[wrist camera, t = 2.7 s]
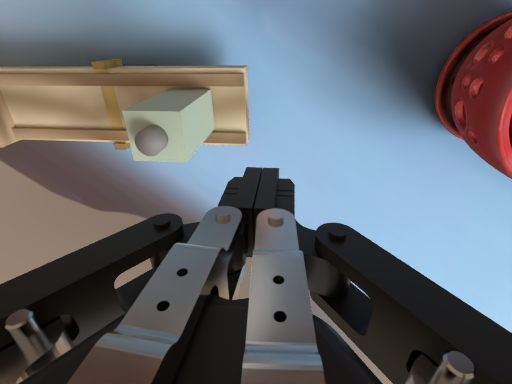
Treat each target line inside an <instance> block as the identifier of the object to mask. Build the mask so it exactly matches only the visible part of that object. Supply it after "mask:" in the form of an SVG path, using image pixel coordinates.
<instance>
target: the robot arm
mask: <svg viewBox="0 0 512 384" xmlns="http://www.w3.org/2000/svg"><path fill="white" fill-rule="evenodd" d="M247 257H252V268H251V282H250V293H249V298H246V299H238V300H236V298H237V295H238V292H239V288H240V285H241V282H242V278H243V275H244V271H245V269H244V265H245V262H246V258H247ZM149 258H150V260H151V264H152V268H153V269H151V270H149V271H147V272H146V273H144V274H142V275H140V276H139V277H137V278H135V279H133V280H132V281H130V282H128V283H126V284H124V285H123V286H121V287H119V288H117V289H115V288H114V282H115V280H116V278H117V277H118V276H119V275H120V274H121V273H123V272H125V271H126V270H128V269H130V268H132V267H134V266H136V265H138V264H139V263H141V262H143V261H145V260H147V259H149ZM351 281H352V282H353V283H354V284H355V285H357V286H358V287H359V288H360V289H361V290H363V291H364V292H365V293H366V294H367V295H368V296H369V298H368V297H367V296H366V295H365V294H364V293H362V292H361V291H360V290H359V289H358V288H357V287H355V286H354V285H353V284H352V283H351ZM309 291H310V296H311V298H312V300H313V301H314V302H315V303H316V304H317V305H318V306H319V307H320V308H321V309H322V310H323V311H324V312H325V313H326V314H327V315H328V316H329V317H330V318H331V320H332V321H333V322H334V323H335V324H336V325H337V326H338V327H339V328H340V329H341V330H342V331H343V332H344V333H345V334H346V335H347V336H348V337H349V338H350V339H351V340H352V341H353V342H354V343H355V344H356V346H357V347H358V348H359V349H360V350H361V351H362V352H363V353H364V354H365V355H366V356H367V357H368V358H369V359H370V360H371V361H372V362H373V363H374V364H375V365H376V366H377V367H378V368H379V369H380V370H381V371H382V373H384V375H386V377H387V378H388V379H389V380H390V381H391V382H392V383H393V384H512V333H511V332H509V331H508V330H506V329H505V328H503V327H502V326H500V325H498V324H497V323H495V322H494V321H492V320H491V319H489V318H488V317H486V316H485V315H483V314H482V313H480V312H479V311H477V310H476V309H474V308H473V307H471V306H470V305H468V304H467V303H465V302H463V301H462V300H460V299H459V298H457V297H456V296H454V295H453V294H451V293H450V292H448V291H447V290H445V289H444V288H442V287H441V286H439V285H438V284H436V283H435V282H433V281H431V280H430V279H428V278H427V277H425V276H424V275H422V274H421V273H419V272H418V271H416V270H415V269H413V268H412V267H410V266H409V265H407V264H406V263H404V262H403V261H401V260H399V259H398V258H396V257H395V256H393V255H392V254H390V253H389V252H387V251H386V250H384V249H383V248H381V247H380V246H378V245H377V244H375V243H374V242H372V241H371V240H369V239H367V238H366V237H364V236H363V235H361V234H360V233H358V232H357V231H355V230H354V229H352V228H351V227H349V226H347V225H344V224H340V223H326V224H323V225H321V226H319V227H318V228H317V230H316V231H315V230H311V229H308V228H306V227H303V226H302V225H300V224H299V223H298V222H297V221H296V219H295V216H294V183H293V182H292V181H291V180H290V179H279V168H263V169H262V168H255V167H247V168H246V170H245V173H244V176H243V177H234V178H233V179H232V180H230V181H229V182H228V184H227V186H226V189H225V191H224V194H223V195H222V197H221V200H220V202H219V204H218V207H215V208H213V209H211V210H209V211H208V212H207V213H206V214H205V215H204V217H203V219H202V220H201V222H196V223H190V224H183V222H182V219H181V217H180V216H178V215H175V214H169V213H168V214H160V215H156V216H153V217H151V218H149V219H147V220H144V221H142V222H140V223H138V224H135V225H133V226H131V227H129V228H126V229H124V230H122V231H120V232H117V233H115V234H113V235H111V236H109V237H106V238H104V239H102V240H99V241H97V242H95V243H93V244H90V245H88V246H86V247H84V248H81V249H79V250H77V251H75V252H72V253H70V254H68V255H65V256H63V257H61V258H59V259H56V260H54V261H52V262H50V263H47V264H45V265H43V266H41V267H39V268H36V269H34V270H32V271H29V272H27V273H25V274H23V275H20V276H18V277H16V278H14V279H11V280H9V281H7V282H5V283H2V284H0V384H382V383H381V381H380V380H379V379H378V378H377V377H376V376H375V375H374V374H373V372H372V371H371V370H370V369H369V368H368V367H367V366H366V365H365V363H364V362H363V361H362V360H361V359H360V358H359V357H358V356H357V354H356V353H355V352H354V351H353V350H352V349H351V348H350V346H349V345H348V344H347V343H346V342H345V341H344V340H343V339H342V337H341V336H340V335H339V334H338V333H337V332H336V331H335V330H334V329H333V328H332V327H331V326H330V325H328V324H327V323H326V322H324V321H323V320H322V319H320V318H318V317H316V316H315V315H313V314H312V310H311V303H310V297H309Z"/></svg>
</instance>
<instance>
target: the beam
mask: <svg viewBox="0 0 512 384" xmlns="http://www.w3.org/2000/svg"><path fill="white" fill-rule="evenodd" d="M91 64H92V66H23V67H0V147H4V146H7V145H9V144H12V143H14V142H17V141H19V140H22V139H23V140H59V141H96V142H115V143H114V147H115V149H121V150H126V149H128V148H129V147H130V146H131V145H130V141H129V137H128V133H127V129H126V125H125V121H124V117H123V113H122V111H123V110H125V109H127V108H129V107H131V106H133V105H135V104H137V103H139V102H142V101H144V100H146V99H148V98H150V97H152V96H154V95H156V94H158V93H161V92H163V91H165V90H167V89H211V94H212V106H213V117H214V128H215V129H214V130H213V131H212V132H211V134H210V135H209V136H208V137H207V139H206V140H205V141H204V142H203V144H204V145H241V146H247V143H248V141H249V109H248V74H247V66H157V65H123V63H122V59H106V60H100V61H94V62H91Z"/></svg>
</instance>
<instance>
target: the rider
mask: <svg viewBox="0 0 512 384" xmlns="http://www.w3.org/2000/svg"><path fill="white" fill-rule="evenodd" d="M122 113H123V117H124V121H125V125H126V129H127V133H128V137H129V141H130V145H131V150H132V154H133V158H134V161H160V162H188V161H189V160H190V158H191V157H192V156H193V155H194V153H195V152H196V151H197V150H198V148H199V147H200V146H201V145H202V144H203V142H204V141H205V140H206V139H207V137H208V136H209V135H210V134H211V132H212V131H213V130H214V129H215V128H214V117H213V106H212V94H211V89H167V90H165V91H163V92H161V93H158V94H156V95H154V96H152V97H150V98H148V99H146V100H144V101H142V102H139V103H137V104H135V105H133V106H131V107H129V108H127V109H125V110H123V111H122Z"/></svg>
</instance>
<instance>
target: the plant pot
mask: <svg viewBox="0 0 512 384" xmlns="http://www.w3.org/2000/svg"><path fill="white" fill-rule="evenodd" d="M435 108H436V111H437V114H438V117H439V119H440V121H441V122H442V124H443V125H444V127H445V128H446V129H447V130H448V131H449V132H450V133H452V134H453V135H455V136H456V137H458V138H460V139H463V140H465V142H466V143H467V144H468V145H469V147H470V148H471V149H472V150H473V151H474V152H475V153H476V154H478V155H479V156H480V157H481V158H482V159H483V160H485V161H486V162H487V163H488V164H490V165H491V166H493V167H494V168H495V169H497V170H498V171H500V172H501V173H503V174H504V175H506V176H507V177H509V178H511V179H512V12H509V13H506V14H503V15H500V16H498V17H495V18H493V19H491V20H490V21H488V22H486V23H484V24H482V25H481V26H479V27H478V28H477V29H475V30H474V31H473V32H471V33H470V34H469V35H468V36H467V37H466V38H464V39H463V40H462V41H461V42H460V44H459V45H458V46H457V47H456V48H455V49H454V51H453V52H452V53H451V54H450V56H449V58H448V59H447V60H446V62H445V64H444V66H443V68H442V70H441V72H440V75H439V78H438V81H437V85H436V90H435Z"/></svg>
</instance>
